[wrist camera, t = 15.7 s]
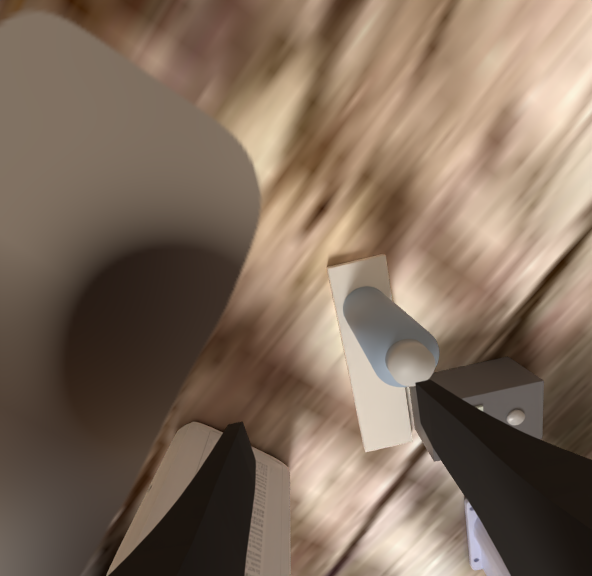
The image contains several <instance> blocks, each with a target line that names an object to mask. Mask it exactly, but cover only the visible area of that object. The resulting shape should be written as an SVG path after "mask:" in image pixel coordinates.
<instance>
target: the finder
mask: <svg viewBox="0 0 592 576" xmlns="http://www.w3.org/2000/svg"><path fill="white" fill-rule="evenodd" d="M428 380H432V381H434V382H435V383H437V384H438V385H440V386H442V387H443V388H445V389H446V390H448V391H450V392H451V393H453V394H454V395H456V396H458V397H459V398H461V399H463V400H464V401H466V402H468V403H469V404H471V405H473V406H474V407H476V408H478V409H480V410H481V411H483V412H485V413H487V414H489V415H490V416H492V417H494V418H496V419H498V420H500V421H502V422H504V423H506V424H508V425H510V426H512V427H514V428H516V429H518V430H520V431H522V432H524V433H526V434H529V435H531V436H533V437H535V438H538V439H542V432H543V391H544V381H543V380H542V379H540V378H539V377H537V376H536V375H534V374H533V373H531V372H530V371H528V370H527V369H526V368H524V367H523V366H521V365H520V364H518V363H517V362H515V361H514V360H512V359H511V358H509V357H503V358H499V359H494V360H490V361H485V362H481V363H476V364H471V365H467V366H462V367H458V368H453V369H449V370H444V371H440V372H435V373H433V374H432V376H431V377H430V378H429V379H428ZM409 388H410V396H411V403H412V411H413V418H414V426H415V430H416V431H417V433H418V435H419V437H420V438H421V440H422V442H423V443H424V445H425V447H426V449H427V450H428V452H429V454H430V455H431V457H432V459H433V460H434V462H435V461H439V460H441V459H440V458H439V456H438V455H437V453H436V452H435V450H434V449H433V447H432V445H431V443H430V441H429V439H428V437H427V435H426V433H425V431H424V429H423V427H422V425H421V423H420V415H419V408H418V400H417V393H416V386H409Z"/></svg>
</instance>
